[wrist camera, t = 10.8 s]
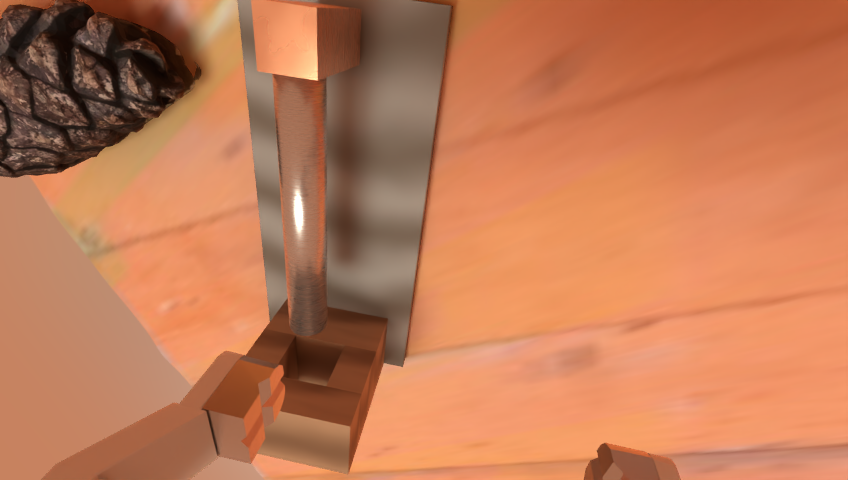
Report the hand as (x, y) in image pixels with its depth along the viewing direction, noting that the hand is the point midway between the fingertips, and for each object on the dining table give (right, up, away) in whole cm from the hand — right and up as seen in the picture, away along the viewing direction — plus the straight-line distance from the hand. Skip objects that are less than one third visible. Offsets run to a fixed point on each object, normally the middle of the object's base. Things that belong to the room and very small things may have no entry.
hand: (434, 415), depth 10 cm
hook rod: (-7, +10, +20) cm, 23 cm away
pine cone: (-25, +18, +22) cm, 38 cm away
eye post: (-7, +7, +24) cm, 26 cm away
